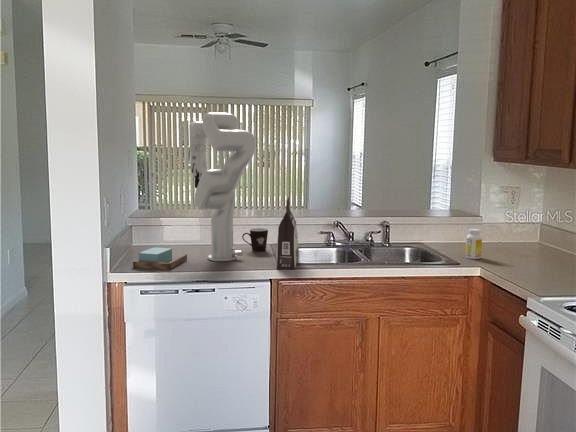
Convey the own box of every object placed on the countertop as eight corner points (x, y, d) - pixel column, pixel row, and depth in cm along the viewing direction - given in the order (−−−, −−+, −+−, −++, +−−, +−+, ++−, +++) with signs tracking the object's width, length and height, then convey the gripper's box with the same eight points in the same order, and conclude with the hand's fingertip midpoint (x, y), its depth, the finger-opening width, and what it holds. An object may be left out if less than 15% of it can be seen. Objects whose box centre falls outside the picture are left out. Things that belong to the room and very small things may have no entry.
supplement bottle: (481, 257, 237) (483, 229, 235) (480, 260, 231) (481, 231, 229) (466, 255, 240) (467, 227, 238) (464, 258, 234) (465, 230, 232)
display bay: (187, 259, 227) (187, 254, 227) (170, 269, 209) (169, 263, 209) (152, 258, 230) (152, 252, 230) (133, 267, 212) (132, 261, 212)
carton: (172, 262, 223) (171, 248, 223) (157, 268, 212) (157, 254, 211) (154, 261, 226) (154, 247, 225) (139, 267, 214) (138, 252, 214)
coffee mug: (269, 249, 251) (269, 228, 250) (266, 252, 243) (266, 231, 241) (245, 248, 253) (245, 227, 251) (241, 251, 244) (241, 230, 243)
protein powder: (297, 269, 211) (297, 200, 208) (275, 269, 212) (275, 200, 208) (298, 260, 228) (299, 196, 224) (278, 260, 228) (278, 196, 224)
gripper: (199, 149, 238) (200, 189, 241) (210, 148, 253) (211, 186, 256) (184, 149, 240) (185, 189, 242) (196, 148, 254) (196, 186, 257)
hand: (198, 187), depth 249 cm, fingers closed
